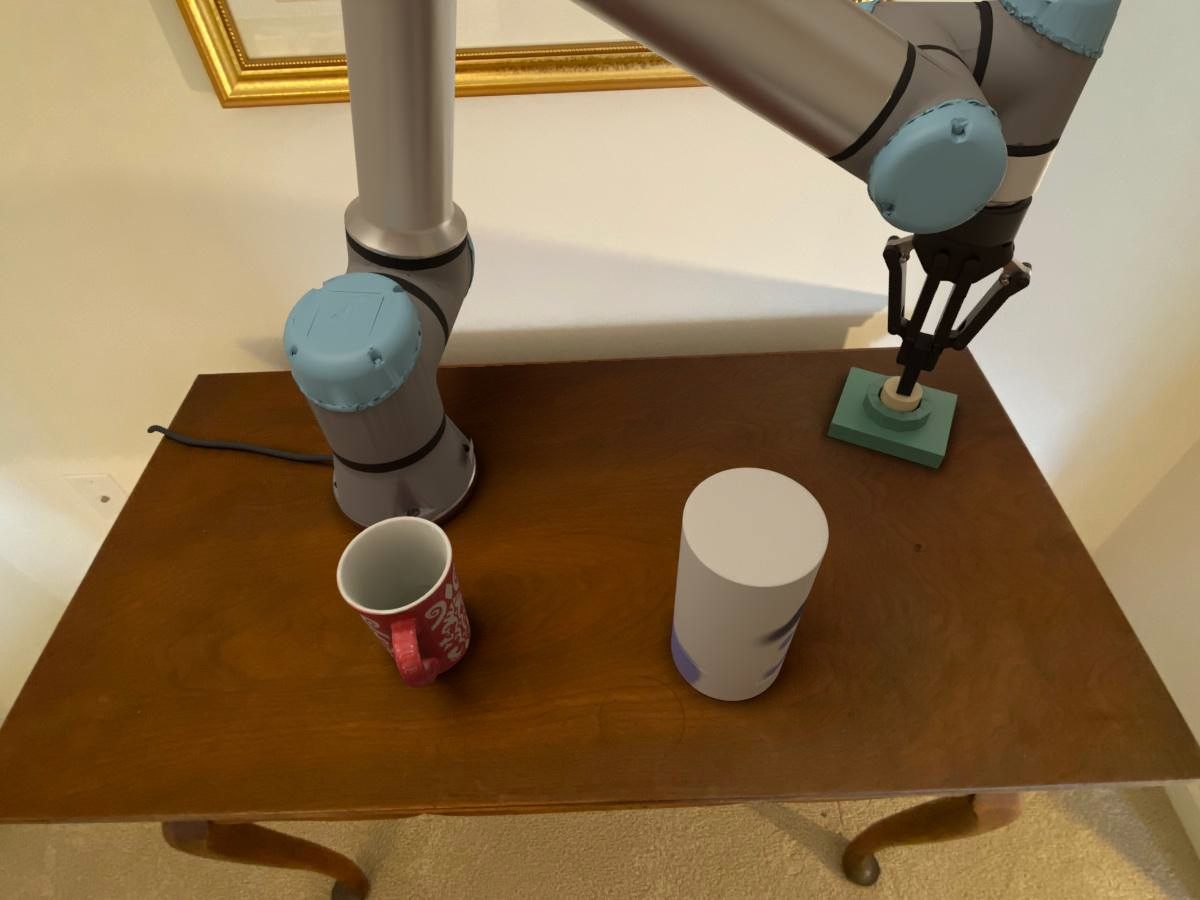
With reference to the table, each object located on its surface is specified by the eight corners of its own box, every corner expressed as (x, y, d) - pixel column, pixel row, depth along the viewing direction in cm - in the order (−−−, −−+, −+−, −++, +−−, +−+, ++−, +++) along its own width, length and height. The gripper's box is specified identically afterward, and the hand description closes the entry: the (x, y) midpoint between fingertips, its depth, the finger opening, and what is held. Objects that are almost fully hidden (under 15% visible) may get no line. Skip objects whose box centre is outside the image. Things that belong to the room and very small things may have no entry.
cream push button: (876, 406, 78) (880, 395, 77) (884, 383, 81) (888, 372, 79) (914, 417, 77) (919, 406, 76) (920, 393, 80) (925, 382, 78)
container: (780, 711, 61) (829, 596, 45) (663, 690, 62) (673, 571, 47) (784, 607, 67) (829, 475, 52) (678, 590, 68) (691, 457, 53)
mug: (381, 605, 68) (337, 526, 58) (475, 587, 69) (448, 506, 59) (382, 736, 60) (331, 671, 50) (488, 713, 61) (459, 645, 51)
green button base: (827, 435, 81) (834, 411, 78) (847, 379, 86) (855, 354, 83) (937, 469, 77) (950, 445, 74) (951, 408, 83) (963, 383, 80)
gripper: (1074, 177, 60) (973, 381, 78) (913, 150, 64) (852, 349, 82) (1070, 223, 55) (963, 427, 73) (897, 191, 59) (836, 392, 77)
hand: (905, 386), depth 77 cm, fingers closed
